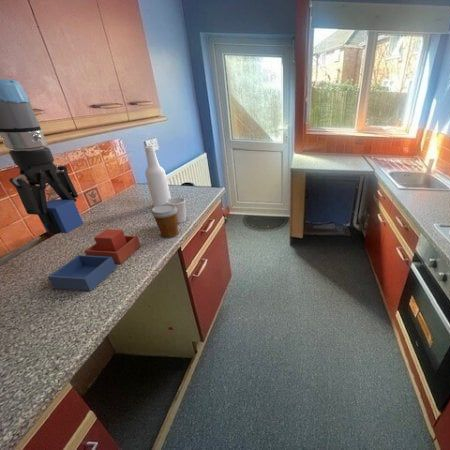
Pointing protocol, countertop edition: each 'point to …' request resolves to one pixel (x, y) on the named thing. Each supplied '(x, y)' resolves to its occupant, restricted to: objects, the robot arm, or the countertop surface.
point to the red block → (110, 240)
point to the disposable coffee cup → (166, 219)
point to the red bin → (120, 254)
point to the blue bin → (82, 272)
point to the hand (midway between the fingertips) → (65, 227)
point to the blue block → (64, 214)
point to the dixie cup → (178, 207)
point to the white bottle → (156, 178)
